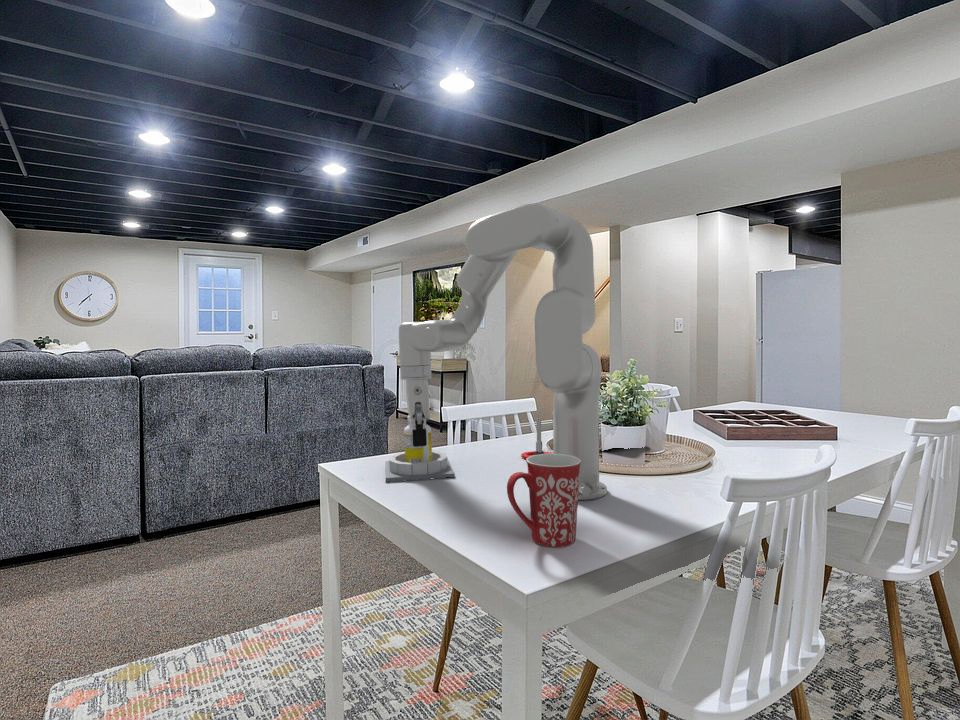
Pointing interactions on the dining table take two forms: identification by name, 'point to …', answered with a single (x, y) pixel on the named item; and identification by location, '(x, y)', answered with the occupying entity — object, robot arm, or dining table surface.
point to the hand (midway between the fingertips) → (418, 441)
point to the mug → (550, 498)
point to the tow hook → (538, 442)
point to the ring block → (418, 468)
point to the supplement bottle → (418, 452)
